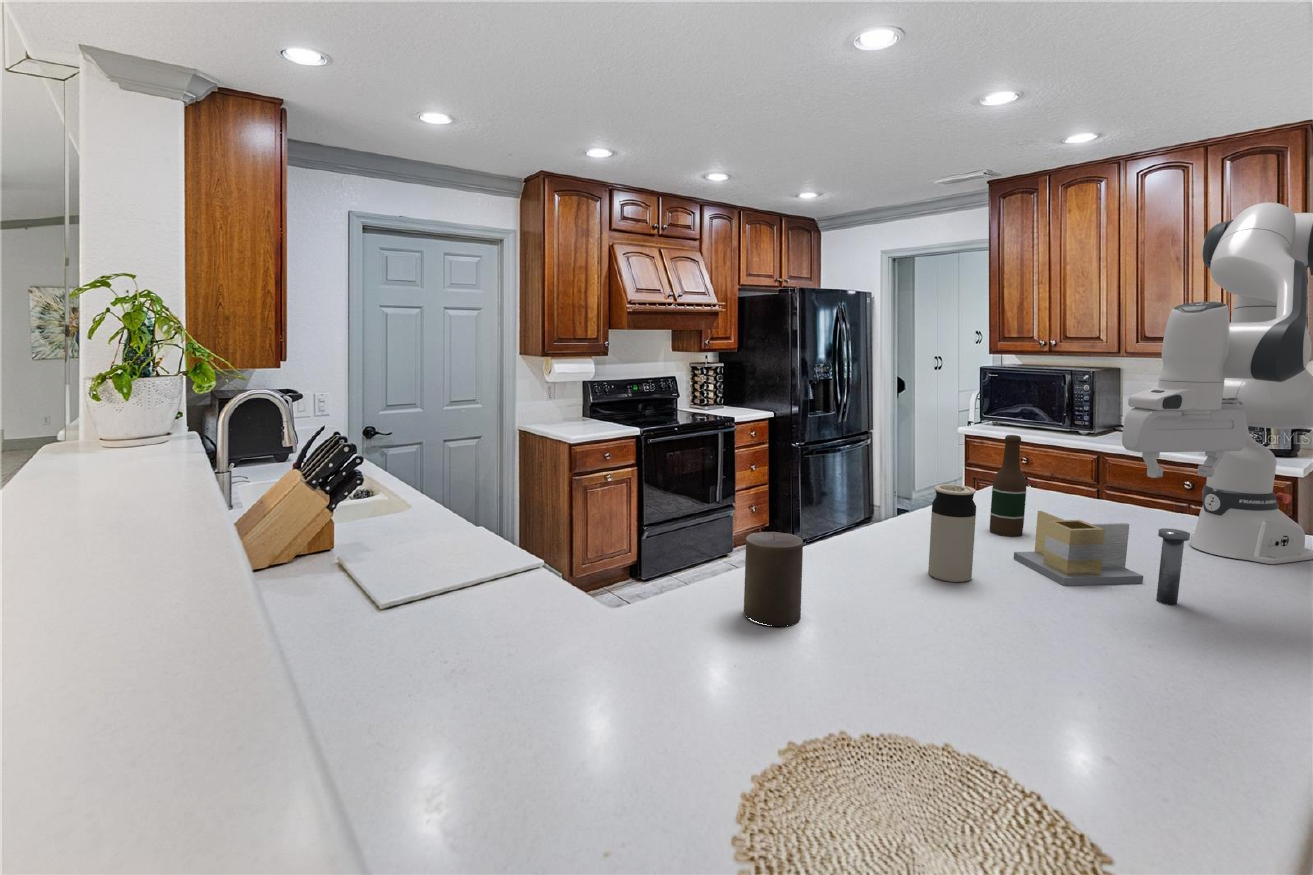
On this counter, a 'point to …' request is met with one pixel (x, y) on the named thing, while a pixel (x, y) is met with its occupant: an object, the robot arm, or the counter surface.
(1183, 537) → the hinge pin
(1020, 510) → the beer bottle
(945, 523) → the travel mug
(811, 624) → the counter surface
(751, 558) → the pillar candle
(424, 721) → the counter surface
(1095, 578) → the mounting board
